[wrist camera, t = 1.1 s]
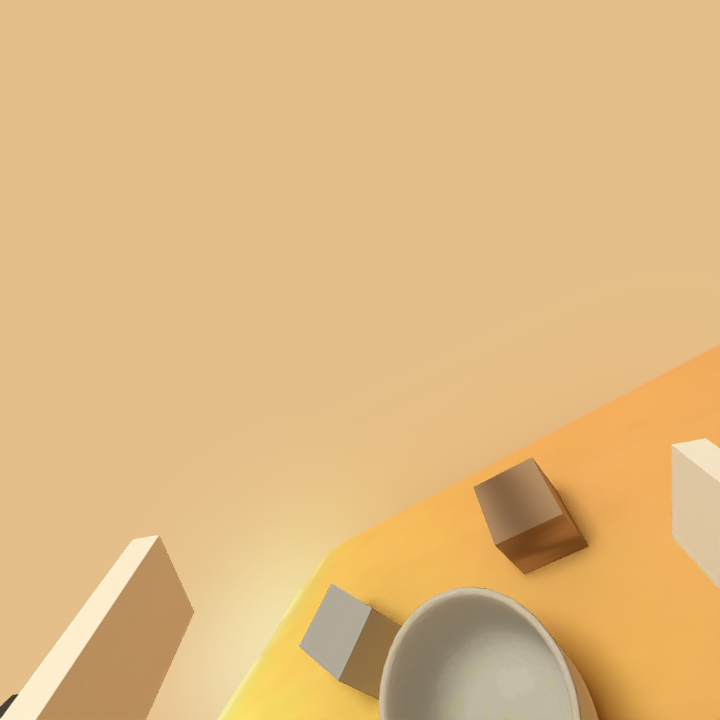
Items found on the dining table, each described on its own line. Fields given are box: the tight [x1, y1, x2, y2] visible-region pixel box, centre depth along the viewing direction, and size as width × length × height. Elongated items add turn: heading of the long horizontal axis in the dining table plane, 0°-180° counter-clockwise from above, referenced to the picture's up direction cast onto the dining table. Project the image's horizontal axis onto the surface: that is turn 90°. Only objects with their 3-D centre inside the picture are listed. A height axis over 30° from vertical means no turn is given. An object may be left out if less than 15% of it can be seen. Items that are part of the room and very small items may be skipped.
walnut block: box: [474, 458, 588, 574], centre depth 33 cm, size 5×5×5 cm
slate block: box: [299, 584, 401, 699], centre depth 35 cm, size 5×5×5 cm
